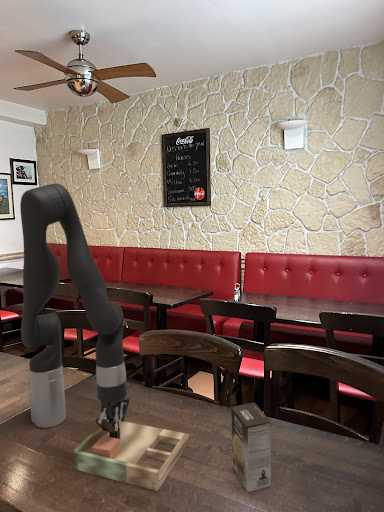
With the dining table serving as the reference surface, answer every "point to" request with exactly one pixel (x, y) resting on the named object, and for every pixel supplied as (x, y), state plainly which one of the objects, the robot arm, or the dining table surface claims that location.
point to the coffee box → (251, 446)
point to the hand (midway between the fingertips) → (115, 441)
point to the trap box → (132, 455)
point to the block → (107, 447)
